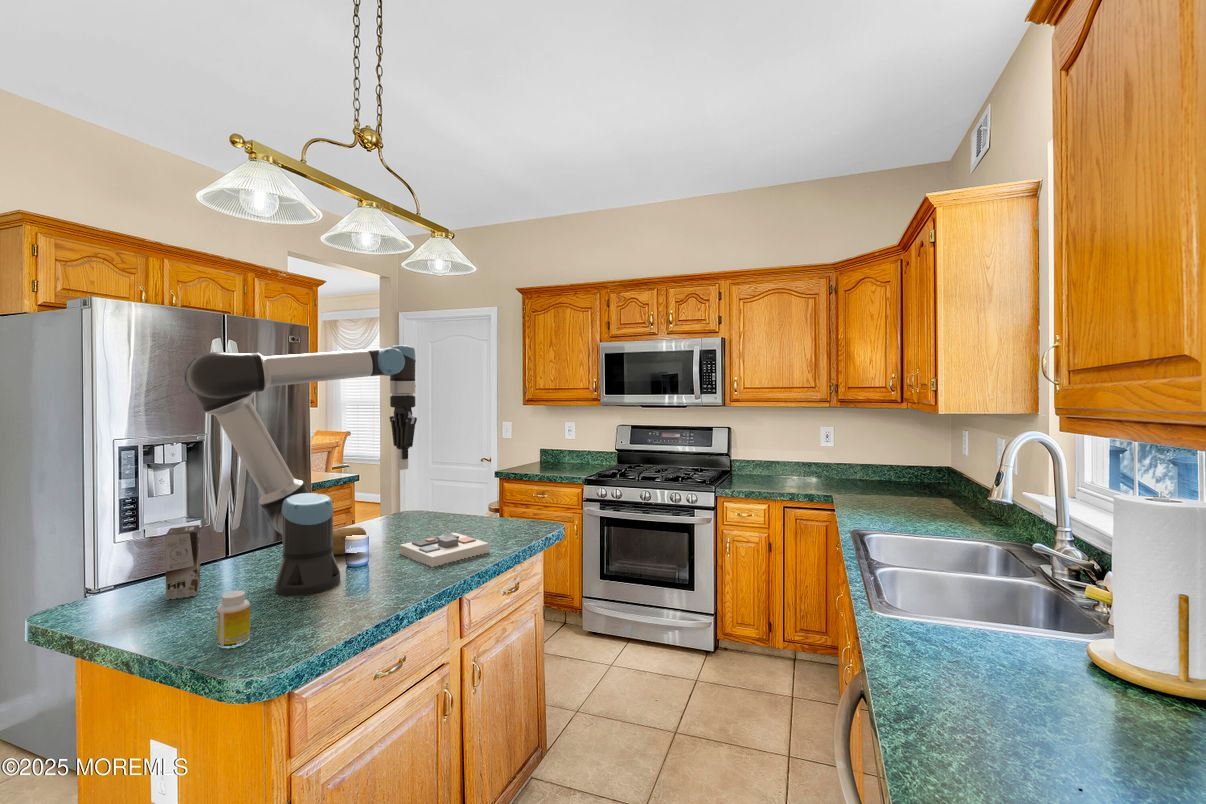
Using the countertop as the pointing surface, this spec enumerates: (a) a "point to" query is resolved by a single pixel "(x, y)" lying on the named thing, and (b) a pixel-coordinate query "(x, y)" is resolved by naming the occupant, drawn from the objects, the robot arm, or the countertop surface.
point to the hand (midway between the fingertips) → (403, 469)
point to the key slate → (429, 549)
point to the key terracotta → (466, 540)
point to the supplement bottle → (233, 619)
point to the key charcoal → (448, 542)
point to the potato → (340, 537)
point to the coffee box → (182, 562)
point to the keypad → (443, 550)
